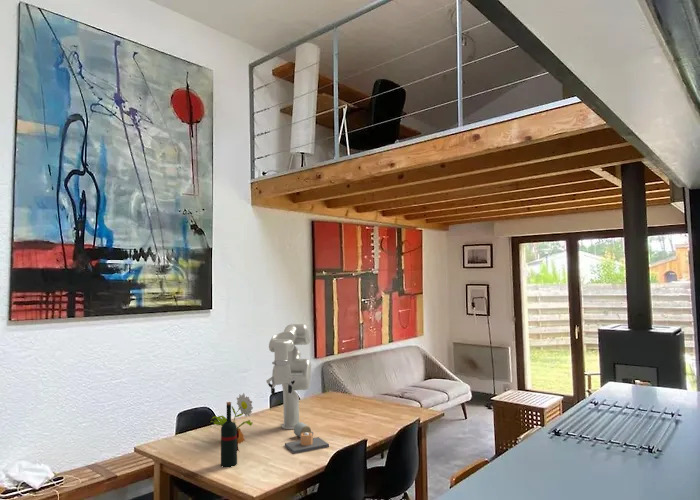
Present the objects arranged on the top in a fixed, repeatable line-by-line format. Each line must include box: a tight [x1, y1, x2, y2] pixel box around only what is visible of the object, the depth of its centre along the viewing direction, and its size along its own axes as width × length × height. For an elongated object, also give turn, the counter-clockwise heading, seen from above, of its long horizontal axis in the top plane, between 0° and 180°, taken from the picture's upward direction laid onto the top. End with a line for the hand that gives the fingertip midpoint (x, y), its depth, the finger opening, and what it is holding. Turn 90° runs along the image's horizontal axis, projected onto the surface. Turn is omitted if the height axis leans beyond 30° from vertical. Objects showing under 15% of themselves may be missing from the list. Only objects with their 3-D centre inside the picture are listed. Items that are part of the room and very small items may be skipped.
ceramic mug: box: [293, 421, 315, 438], centre depth 277 cm, size 11×8×8 cm
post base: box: [284, 432, 330, 455], centre depth 260 cm, size 14×20×7 cm
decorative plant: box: [210, 392, 254, 444], centre depth 272 cm, size 27×24×25 cm
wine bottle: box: [220, 401, 240, 468], centre depth 238 cm, size 8×10×30 cm
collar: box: [300, 432, 314, 446], centre depth 260 cm, size 6×6×5 cm
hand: (281, 394), depth 270 cm, fingers open, 9 cm apart
